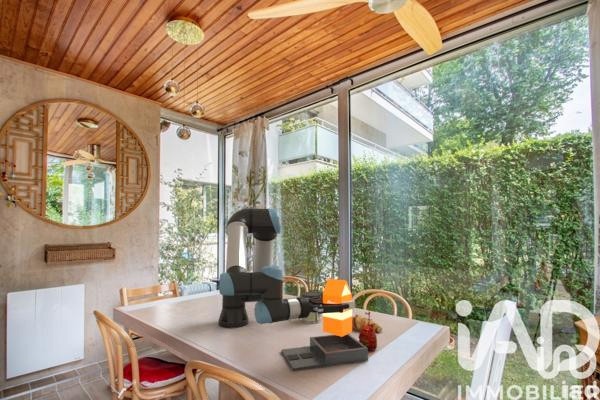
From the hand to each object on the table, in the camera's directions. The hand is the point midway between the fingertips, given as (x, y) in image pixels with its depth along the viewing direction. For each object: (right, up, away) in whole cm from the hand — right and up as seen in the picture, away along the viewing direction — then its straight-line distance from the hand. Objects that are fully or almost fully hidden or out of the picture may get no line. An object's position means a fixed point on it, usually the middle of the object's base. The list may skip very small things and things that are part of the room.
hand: (346, 301), depth 123 cm
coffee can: (-13, -24, +40) cm, 48 cm away
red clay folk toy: (+9, -20, +3) cm, 22 cm away
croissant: (+11, -23, +26) cm, 36 cm away
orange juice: (-4, -11, -3) cm, 12 cm away
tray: (-10, -19, -5) cm, 22 cm away
